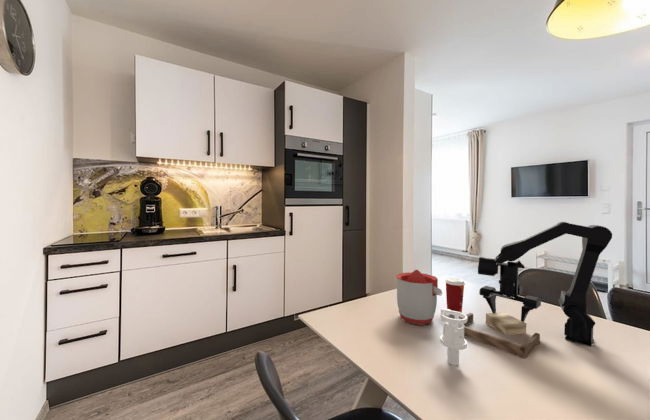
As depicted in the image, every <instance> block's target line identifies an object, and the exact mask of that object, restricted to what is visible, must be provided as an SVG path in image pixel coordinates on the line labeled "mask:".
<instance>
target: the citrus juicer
mask: <svg viewBox="0 0 650 420" xmlns="http://www.w3.org/2000/svg"><path fill="white" fill-rule="evenodd" d="M438 282H439V280H438V278H437V277H436V276H434V275H431V274H427V273H421V271H419V270H418V269H414V271H412V272H401V273H398V274H396V302H397V308H398V312H399V316H400V317H401V319H402V320H403V321H404V320H405V321H404V322H406V323H409V324H411V325H420V326H424V325H429V324H431V323H432V321H433V319H434V317H435V313H436V309H437V304H438V302H437V301H438V296H440V297H441V296H443V291H442V289H441V288H439V287H438V284H439V283H438Z"/></svg>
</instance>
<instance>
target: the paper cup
mask: <svg viewBox="0 0 650 420" xmlns="http://www.w3.org/2000/svg"><path fill="white" fill-rule="evenodd" d="M444 283H445V290H446V291H445V295H446V297H445V299H446V309H450V310H452V311H457V312H461V313H463V304H464V303H463V302H464V291H465V285H466V283H465V280H464V279H462V278H458V277H446V278H445V281H444Z"/></svg>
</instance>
